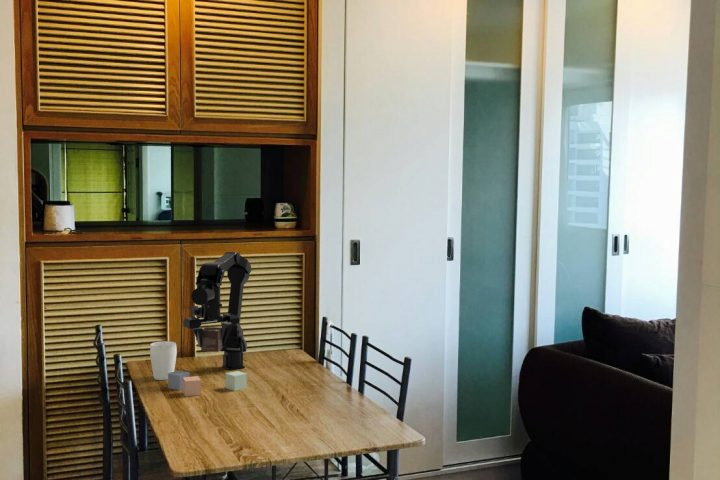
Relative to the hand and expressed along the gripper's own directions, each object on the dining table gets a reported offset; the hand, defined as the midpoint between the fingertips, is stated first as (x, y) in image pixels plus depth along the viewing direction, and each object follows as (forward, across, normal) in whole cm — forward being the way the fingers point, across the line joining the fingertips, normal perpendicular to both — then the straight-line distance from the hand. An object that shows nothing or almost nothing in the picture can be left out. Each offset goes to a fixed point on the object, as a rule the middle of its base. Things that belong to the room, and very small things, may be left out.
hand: (211, 345), depth 274 cm
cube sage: (+12, -3, +12) cm, 18 cm away
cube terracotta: (+12, +12, +10) cm, 20 cm away
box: (+2, 0, 0) cm, 2 cm away
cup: (+13, +12, -13) cm, 22 cm away
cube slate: (+12, +13, +1) cm, 18 cm away
